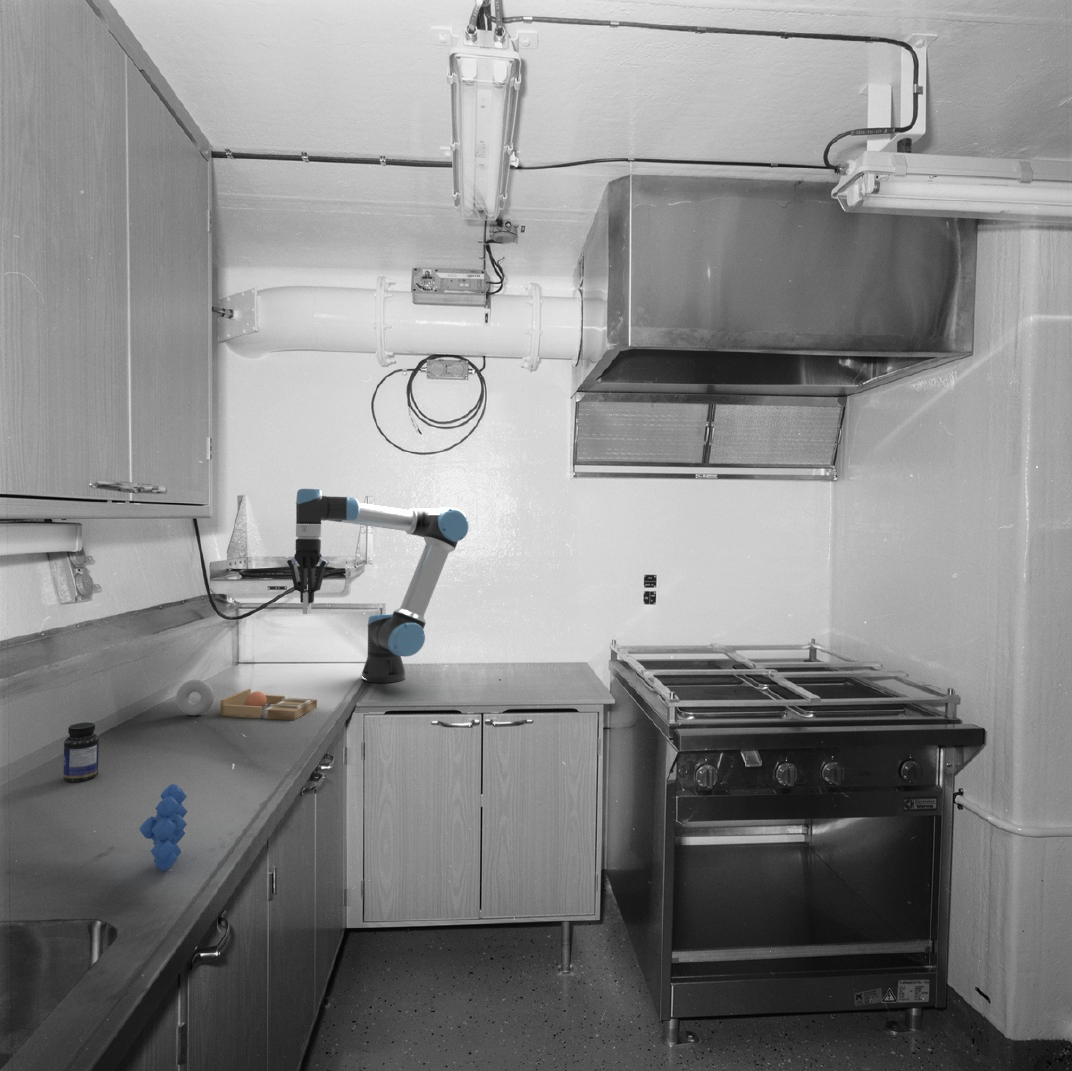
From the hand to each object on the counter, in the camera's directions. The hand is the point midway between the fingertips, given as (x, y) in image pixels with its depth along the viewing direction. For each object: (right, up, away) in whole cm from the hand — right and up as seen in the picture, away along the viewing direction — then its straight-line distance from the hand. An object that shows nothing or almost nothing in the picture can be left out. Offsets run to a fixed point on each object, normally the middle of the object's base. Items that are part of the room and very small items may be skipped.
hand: (306, 613), depth 218 cm
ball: (-8, -23, -19) cm, 31 cm away
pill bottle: (-23, -27, -72) cm, 81 cm away
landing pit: (-9, -26, -17) cm, 33 cm away
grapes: (+13, -28, -109) cm, 113 cm away
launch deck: (+1, -27, -18) cm, 32 cm away
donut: (-24, -26, -23) cm, 42 cm away
